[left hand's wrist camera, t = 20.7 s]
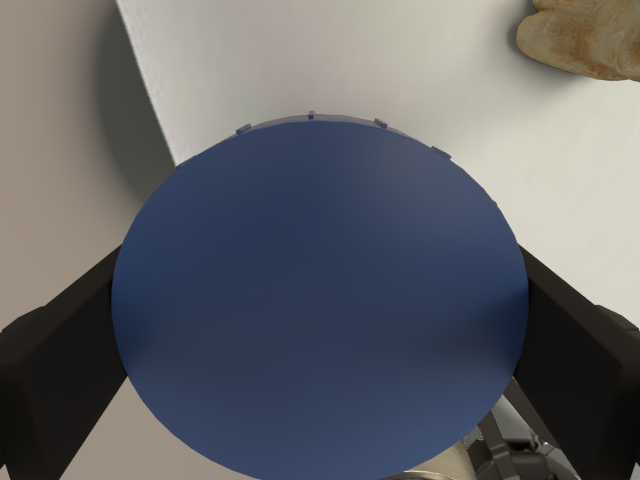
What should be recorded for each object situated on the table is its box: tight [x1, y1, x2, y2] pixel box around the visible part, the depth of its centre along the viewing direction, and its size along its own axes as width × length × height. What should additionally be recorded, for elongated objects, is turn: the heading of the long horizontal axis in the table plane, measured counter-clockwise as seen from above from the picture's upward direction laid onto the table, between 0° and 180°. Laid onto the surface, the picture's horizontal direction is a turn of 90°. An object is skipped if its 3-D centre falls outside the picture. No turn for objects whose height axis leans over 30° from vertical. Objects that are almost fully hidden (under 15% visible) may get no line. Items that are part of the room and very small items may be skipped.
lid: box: [111, 111, 529, 480], centre depth 11 cm, size 10×10×2 cm
